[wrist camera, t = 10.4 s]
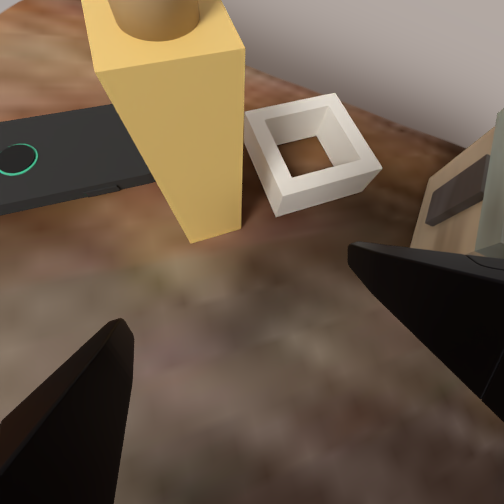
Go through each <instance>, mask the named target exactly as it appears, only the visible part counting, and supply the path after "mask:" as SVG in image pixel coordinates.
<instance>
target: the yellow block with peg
mask: <svg viewBox="0 0 504 504" xmlns="http://www.w3.org/2000/svg"><path fill="white" fill-rule="evenodd" d="M81 2H82V7H83V12H84V17H85V23H86V28H87V33H88V38H89V44H90V49H91V54H92V59H93V65H94V70H95V73H96V75H97V77H98V79H99V80H100V82H101V84H102V86H103V88H104V89H105V91H106V93H107V95H108V97H109V98H110V100H111V102H112V104H113V106H114V107H115V109H116V111H117V113H118V114H119V116H120V118H121V120H122V122H123V123H124V125H125V127H126V129H127V131H128V132H129V134H130V136H131V138H132V140H133V141H134V143H135V145H136V147H137V148H138V150H139V152H140V154H141V156H142V157H143V159H144V161H145V163H146V165H147V166H148V168H149V170H150V172H151V173H152V175H153V177H154V179H155V181H156V182H157V184H158V186H159V188H160V190H161V191H162V193H163V195H164V197H165V199H166V200H167V202H168V204H169V206H170V207H171V209H172V211H173V213H174V215H175V216H176V218H177V220H178V222H179V224H180V225H181V227H182V229H183V231H184V232H185V234H186V236H187V238H188V240H189V241H190V243H195V242H198V241H201V240H205V239H208V238H212V237H215V236H218V235H222V234H225V233H229V232H232V231H235V230H239V229H241V209H242V166H243V123H244V80H245V47H244V45H243V43H242V41H241V39H240V37H239V35H238V33H237V31H236V29H235V27H234V25H233V23H232V21H231V19H230V17H229V15H228V13H227V11H226V9H225V7H224V5H223V3H222V1H221V0H81Z"/></svg>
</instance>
